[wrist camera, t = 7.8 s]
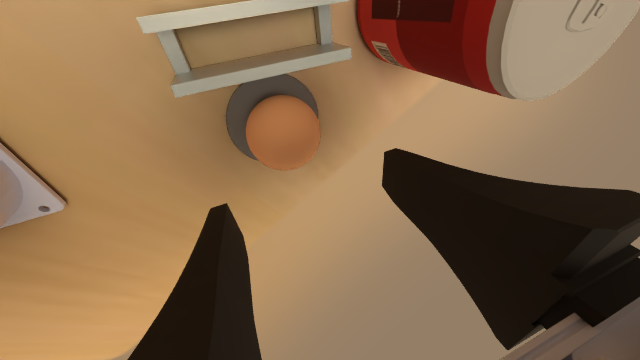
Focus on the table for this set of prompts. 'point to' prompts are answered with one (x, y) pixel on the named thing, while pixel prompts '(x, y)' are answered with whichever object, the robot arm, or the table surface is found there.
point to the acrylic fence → (246, 68)
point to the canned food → (496, 40)
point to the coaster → (253, 95)
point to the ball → (283, 132)
